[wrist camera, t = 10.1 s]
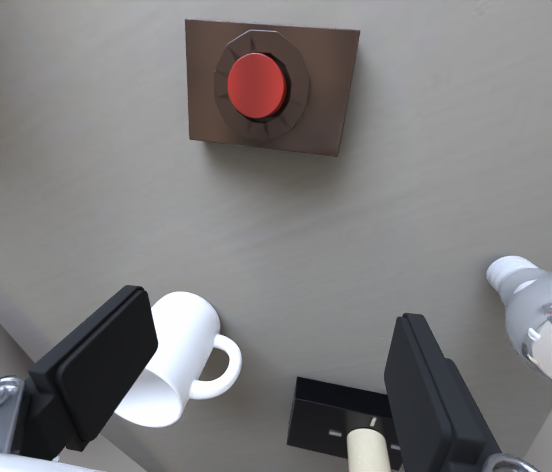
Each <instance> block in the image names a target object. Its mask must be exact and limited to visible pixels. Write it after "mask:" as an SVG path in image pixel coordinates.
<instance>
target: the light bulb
mask: <svg viewBox="0 0 552 472" xmlns="http://www.w3.org/2000/svg"><path fill="white" fill-rule="evenodd" d="M486 278H487V281H488V282H489V284H490V285H491V286H492V287H493V288H494V289H495V290H496V291H497V292H498V293H499V294H500V297H501V300H502V302H503V304H504V305H505V307H506V311H505V329H506V333H507V336H508V339H509V341H510V343H511V345H512V347H513V348H514V350H515V351H516V353H517V354H518V355H519V356H520V358H521V359H522V360H523V361H524V362H525V363H526V364H527V365H528V366H529V367H530V368H531V369H533V370H534V371H536V372H537V373H538V374H540V375H541V376H543V377H544V378H545V379H547V380H548V381H550V382H552V273H551V272H549V271H546V270H543V269H539V268H538V267H536V266H535V265H534V264H532V263H530V262H529V261H528V260H526V259H524V258H522V257H519V256H506V257H502V258H500V259H498V260H496V261H495V262H493V263H492V264H491V265H490V267H489V268H488V270H487V273H486Z"/></svg>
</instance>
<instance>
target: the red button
mask: <svg viewBox="0 0 552 472" xmlns="http://www.w3.org/2000/svg"><path fill="white" fill-rule="evenodd" d="M228 93H229V97H230V99H231V102H232V104H233V105H234V107H235V108H236V109H237V110H238V111H239V112H240V113H242V114H243V115H245V116H247V117H250V118H266V117H269V116H272V115H273V114H275V113H276V112H277V111H278V110H279V109H280V108H281V107H282V105H283V103H284V101H285V98H286V94H287V83H286V78H285V76H284V73H283V72H282V70H281V68H280V67H279V66H278V65H277V64H276V63H275V62H274V61H273V60H272V59H271V58H269V57H268V56H266V55H263V54H259V53H251V54H247V55H245V56H243V57H241V58H240V59H239V60H238V61H237V62H236V63H235V64H234V65H233V67H232V69H231V71H230V74H229V77H228Z"/></svg>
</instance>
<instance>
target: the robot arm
mask: <svg viewBox="0 0 552 472" xmlns="http://www.w3.org/2000/svg"><path fill="white" fill-rule="evenodd" d="M157 349H158V338H157V334H156V329H155V325H154V320H153V316H152V311H151V307H150V302H149V298H148V293H147V292H146V291H144V288H143V287H141V286H131V285H126V286H124V287H123V288H122V289H121V290H119V291H118V292H117V293H116V294H115V295H114V296H113V297H111V298H110V299H109V300H108V301H107V302H106V303H105V304H103V305H102V306H101V307H100V308H99V309H98V310H96V311H95V312H94V313H93V314H92V315H91V316H90V317H88V318H87V319H86V320H85V321H84V322H83V323H81V324H80V325H79V326H78V327H77V328H76V329H75V330H73V331H72V332H71V333H70V334H69V335H68V336H66V337H65V338H64V339H63V340H62V341H61V342H60V343H58V344H57V345H56V346H55V347H54V348H53V349H52V350H50V351H49V352H48V353H47V354H46V355H45V356H43V357H42V358H41V359H40V360H39V361H38V362H37V363H35V364H34V365H33V366H32V367H31V368H30V369H29V370H28V373H29V375H30V376H29V377H28V378H27V379H26V380H24V379H23V378H22V377H20V376H16V375H12V376H5V377H1V378H0V472H104V471H99V470H94V469H89V468H84V467H79V466H74V465H69V464H64V463H59V454H60V452H61V451H62V450H63V448H64V447H65V446H66V448H67V449H70V450H75V451H80V452H82V451H83V450H84V449H85V447H86V446H87V444H88V443H89V441H92V440H94V439H95V438H96V437H97V436H98V434H99V433H100V431H101V430H102V429H103V427H104V426H105V424H106V423H107V421H108V420H109V419H110V417H111V416H112V414H113V413H114V411H115V410H116V409H117V407H118V406H119V404H120V403H121V401H122V400H123V399H124V397H125V396H126V394H127V393H128V391H129V390H130V389H131V387H132V386H133V384H134V383H135V381H136V380H137V379H138V377H139V376H140V374H141V373H142V371H143V370H144V369H145V367H146V366H147V364H148V363H149V361H150V360H151V359H152V357H153V356H154V354H155V353H156V351H157ZM384 381H385V386H386V390H387V395H388V399H389V403H390V408H391V412H392V416H393V421H394V425H395V429H396V434H397V438H398V442H399V447H400V451H401V455H402V460H403V464H404V468H405V472H540V471H539V470H538V469H536V468H535V467H534V466H533V465H531V464H529V463H527V462H525V461H524V460H522V459H521V458H518V457H515V456H513V455H510V454H503V453H502V452H501V450H500V448H499V446H498V444H497V442H496V440H495V439H494V437H493V435H492V433H491V431H490V429H489V427H488V425H487V423H486V421H485V420H484V418H483V416H482V414H481V412H480V410H479V408H478V406H477V404H476V403H475V401H474V399H473V397H472V395H471V393H470V391H469V389H468V387H467V386H466V384H465V382H464V380H463V378H462V376H461V374H460V372H459V370H458V369H457V367H456V365H455V363H454V362H453V361H452V360H451V359H448V358H445V357H444V355H443V353H442V351H441V349H440V347H439V345H438V343H437V341H436V339H435V337H434V335H433V333H432V331H431V329H430V327H429V325H428V323H427V321H426V319H425V317H424V316H423V315H420V314H410V313H404V314H403V316H402V317H397V320H396V324H395V328H394V333H393V337H392V341H391V346H390V350H389V354H388V359H387V363H386V367H385V372H384Z"/></svg>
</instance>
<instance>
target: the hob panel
mask: <svg viewBox="0 0 552 472" xmlns="http://www.w3.org/2000/svg"><path fill="white" fill-rule="evenodd" d="M362 428H364V429H371V430H374V431H377V432H379V433H380V434H381V435H383V437H384V438H385V441H386V446H387V451H388V456H389V462H390V467H391V469H394V470H398V471H399V469H400V467H401V465H402V463H403V460H402V455H401V451H400V447H399V442H398V438H397V434H396V429H395V425H394V421H393V416H392V412H391V408H390V403H389V399H388V395H385V394H380V393H375V392H370V391H365V390H360V389H355V388H350V387H345V386H340V385H336V384H331V383H326V382H321V381H316V380H311V379H306V378H301V377H297V380H296V386H295V392H294V397H293V403H292V409H291V414H290V420H289V428H288V437H287V445H290V446H294V447H299V448H303V449H307V450H312V451H316V452H320V453H325V454H329V455H333V456H338V457H342V458H346V459H348V450H347V436H348V434H349V433H350V432H351V431H353V430H356V429H362Z"/></svg>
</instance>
